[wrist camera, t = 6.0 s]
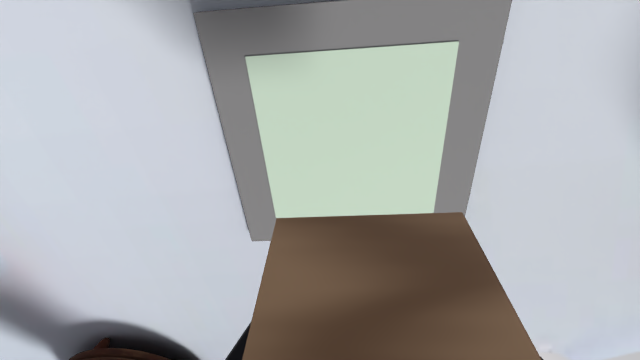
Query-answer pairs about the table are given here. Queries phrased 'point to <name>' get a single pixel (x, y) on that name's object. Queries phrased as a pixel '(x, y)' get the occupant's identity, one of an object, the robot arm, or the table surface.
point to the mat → (353, 103)
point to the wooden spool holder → (114, 353)
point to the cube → (382, 293)
